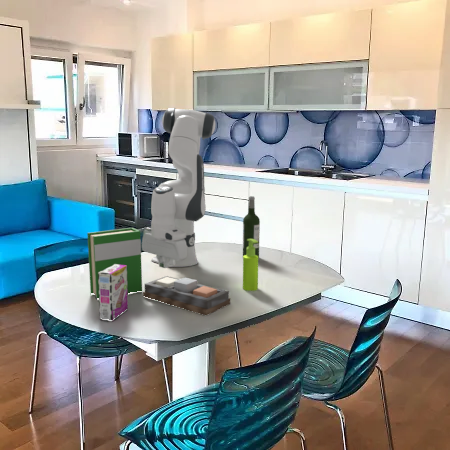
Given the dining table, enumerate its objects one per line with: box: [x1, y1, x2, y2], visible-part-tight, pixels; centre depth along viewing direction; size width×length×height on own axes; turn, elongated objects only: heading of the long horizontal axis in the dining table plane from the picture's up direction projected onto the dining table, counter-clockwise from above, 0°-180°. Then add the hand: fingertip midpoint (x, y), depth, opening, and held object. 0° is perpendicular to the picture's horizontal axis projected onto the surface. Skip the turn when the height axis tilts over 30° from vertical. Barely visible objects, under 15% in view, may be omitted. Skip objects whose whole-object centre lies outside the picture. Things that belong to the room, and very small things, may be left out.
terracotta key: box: [193, 285, 218, 298], centre depth 172 cm, size 6×6×4 cm
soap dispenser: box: [242, 239, 259, 292], centre depth 189 cm, size 6×7×20 cm
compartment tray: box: [142, 275, 231, 316], centre depth 178 cm, size 30×14×5 cm, turn 54°
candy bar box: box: [98, 264, 129, 320], centre depth 162 cm, size 11×5×16 cm, turn 163°
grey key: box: [174, 277, 198, 293], centre depth 177 cm, size 6×6×4 cm
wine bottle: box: [242, 195, 261, 260], centre depth 232 cm, size 8×8×30 cm
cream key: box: [156, 276, 178, 288], centre depth 182 cm, size 6×6×4 cm
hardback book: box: [86, 227, 143, 298], centre depth 183 cm, size 18×7×24 cm, turn 123°
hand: (163, 267), depth 182 cm, fingers closed
